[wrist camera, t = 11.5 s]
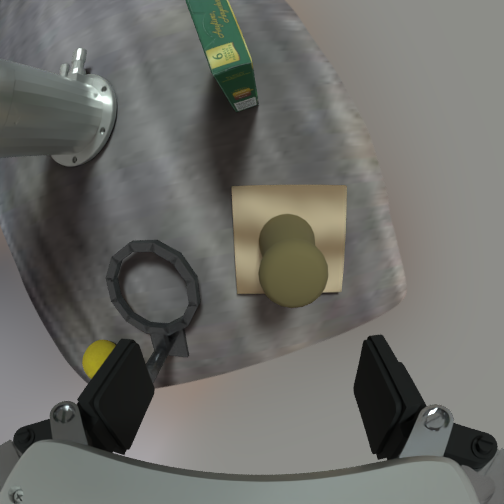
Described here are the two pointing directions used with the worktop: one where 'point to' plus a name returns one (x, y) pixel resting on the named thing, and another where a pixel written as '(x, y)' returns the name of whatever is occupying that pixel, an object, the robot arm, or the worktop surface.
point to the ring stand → (162, 334)
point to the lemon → (96, 356)
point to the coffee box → (225, 51)
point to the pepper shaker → (291, 262)
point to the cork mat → (288, 202)
